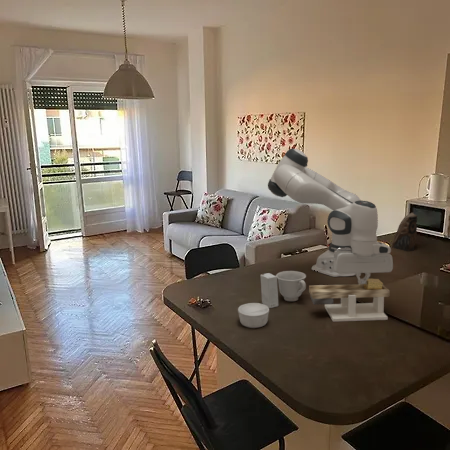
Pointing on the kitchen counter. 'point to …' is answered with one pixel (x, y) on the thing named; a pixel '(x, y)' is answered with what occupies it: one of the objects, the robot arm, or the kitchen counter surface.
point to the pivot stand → (357, 310)
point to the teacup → (291, 284)
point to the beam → (343, 292)
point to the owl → (406, 233)
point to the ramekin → (253, 314)
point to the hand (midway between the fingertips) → (362, 284)
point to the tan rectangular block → (373, 284)
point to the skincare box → (269, 290)
